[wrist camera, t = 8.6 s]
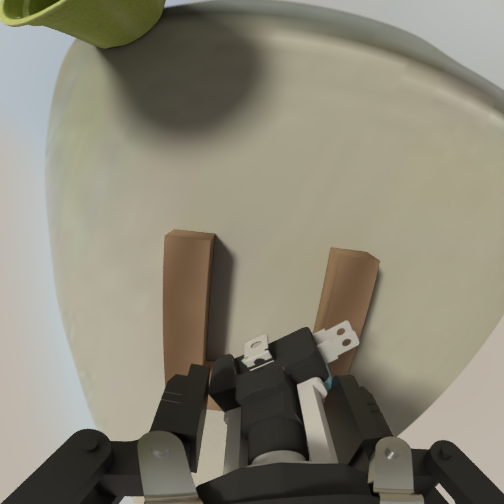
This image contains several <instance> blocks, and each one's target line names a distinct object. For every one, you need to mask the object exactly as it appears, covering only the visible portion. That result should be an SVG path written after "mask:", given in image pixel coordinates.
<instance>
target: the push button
mask: <svg viewBox="0 0 504 504" xmlns="http://www.w3.org/2000/svg"><path fill="white" fill-rule="evenodd" d="M340 328H344V329H345V332H344V334H343V335H337V331H338V329H340ZM345 339H350V340H351V343H350V344H349V345H348V346H343V345H342V342H343V341H344V340H345ZM257 342H261V344H260V345H259V346H258V347H256V348H252V346H253V345H254V344H255V343H257ZM359 343H360V342H359V340H358V337H357V335H356V333H355V331H353V330H352V328H351V325H350V323H349V321H347V320H346V321H344V322H342V323H340V324H338V325H336V326H334V327H332V328H330V329H329V330H327V331H325V329H322V330H320V331H318V332H316V333H314V334H312V332H311V331H310V329H309V328H308V327H304V328H301V329H299V330H297V331H295V332H293V333H291V334H289V335H287V336H285V337H283V338H280V339H278V340H276V341H274V342H272V343H270V344H268V336H267V335H264V334H263V335H261V336H259V337H257V338H254V339H252V340H250V341H248V342H247V343H246V344H245V354H244V355H242V356H240V357H238V358H235V359H234V357H233V356H232V355H231V354H228V355H225V356H223V357H220V358H218V359H217V360H216V361H215V362H214V364H213V369H212V374H211V379H210V384H209V393H208V394H209V395H210V397H211V398H212V399H213V400H214V401H215V402H216V404H217V405H218V406H219V407H220V408H221V409H222V410H223V411H224V413H225V414H224V422H225V423H226V424H227V425H228V426H227V437H226V448H225V459H224V470H223V475H222V476H220V477H218V478H216V479H213V480H211V481H208V482H206V483H203V484H201V485H198V486H197V487H196V491H197V494H198V496H199V498H200V499H201V500H202V502H203V504H380V499H379V498H378V497H374V496H372V495H371V492H370V488H369V485H368V482H367V479H366V476H365V473H364V472H363V471H361V470H358V469H356V468H353V467H351V466H348V465H346V464H343V463H338V459H337V455H336V452H335V448H334V444H333V440H332V437H331V433H330V429H329V426H328V422H327V418H326V415H325V411H324V408H323V404H322V400H321V399H323V398H324V397H326V395H327V391H328V390H329V389H331V383H332V377H331V374H330V371H329V369H328V366H327V364H328V363H330V362H332V361H334V360H336V359H338V355H340V354H342V353H344V352H346V351H348V350H350V349H352V348H353V347H355V346H357V345H359ZM307 441H308V446H309V452H310V457H311V461H309V453H308V447H307Z"/></svg>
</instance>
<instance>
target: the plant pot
mask: <svg viewBox="0 0 504 504" xmlns="http://www.w3.org/2000/svg"><path fill="white" fill-rule="evenodd" d="M164 4H165V0H1V2H0V20H1V21H2V23H3V24H5V25H8V26H12V27H17V26H23V25H32V26H42V25H43V26H46V27H49V28H52V29H55V30H58V31H60V32H63V33H66V34H68V35H71V36H73V37H76V38H78V39H80V40H83V41H85V42H87V43H90V44H92V45H94V46H96V47H99V48H103V49H107V48H110V47H115V46H121V45H126V44H129V43H131V42H133V41H135V40H137V39H138V38H140V37H141V36H143V35H144V34H145V33H147V32H148V31H149V30H150V29H151V28H152V27H153V26H154V25H155V24H156V23H157V21H158V20H159V19H160V17H161V15H162V12H163V8H164Z"/></svg>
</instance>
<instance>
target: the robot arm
mask: <svg viewBox="0 0 504 504" xmlns="http://www.w3.org/2000/svg"><path fill="white" fill-rule="evenodd" d="M209 377H210V366H205V365H198V364H191V365H190V369H189V372H188V375H187V376H185V375H179V374H175V375H174V376H173V377H172V378H171V379H170V380H169V381H168V382H167V384H166V387H165V390H164V393H163V395H162V398H161V401H160V404H159V407H158V409H157V412H156V415H155V418H154V421H153V424H152V426H151V429H150V431H149V432H148V433H146V434H144V435H143V436H142V437H141V438H140V439H138V440H135V441H128V442H123V441H110V440H109V438H108V437H107V436H106V435H105V434H103V433H102V432H100V431H97V430H94V429H83V430H80V431H77V432H76V433H74V434H73V435H72V436H71V437H70V438H69V439H68V440H67V441H66V442H65V443H64V444H63V445H62V446H61V447H60V448H59V449H57V450H56V452H54V453H53V454H52V455H51V456H50V457H49V458H48V459H47V460H46V461H45V462H44V463H43V464H42V465H41V466H40V467H39V468H38V469H37V470H36V471H35V472H34V473H33V474H32V475H30V476H29V477H28V478H27V479H26V480H25V481H24V482H23V483H22V484H21V485H20V486H19V487H18V488H17V489H16V490H15V491H14V492H13V493H12V494H11V495H10V496H8V497H7V498H6V499H5V500H4V501H3V502H2V503H1V504H119V503H120V501H121V500H122V499H123V497H124V496H144V498H145V502H144V504H203V502H202V500H201V499H200V498H199V496H198V494H197V491H196V488H195V485H194V482H193V478H192V475H191V472H194V473H197V467H198V460H199V454H200V448H201V441H202V435H203V429H204V423H205V417H206V411H207V404H208V393H209ZM323 408H324V411H325V415H326V418H327V422H328V426H329V429H330V433H331V437H332V440H333V444H334V448H335V452H336V455H337V459H338V463H343V464H346V465H348V466H351V467H353V468H356V469H358V470H361V471H363V472H364V473H365V476H366V479H367V482H368V485H369V488H370V492H371V495H372V496H374V497H378V498H379V499H380V504H449V503H448V502H447V501H446V500H445V499H444V497H443V496H442V495H441V494H440V493H439V492H438V490H437V489H436V488H435V487H436V486H437V485H438V483H440V484H441V486H442V487H443V488H444V489H445V490H446V491H447V492H448V494H449V495H450V496H451V497H452V498H453V499H454V501H455V503H456V504H504V494H503V493H502V492H501V491H500V490H499V489H498V488H497V487H496V486H495V484H494V483H493V482H492V481H491V480H490V479H489V478H488V477H487V476H486V475H485V474H484V473H483V472H482V471H481V470H480V469H479V468H478V467H477V466H476V465H475V464H474V463H473V462H472V461H471V460H470V459H469V458H468V457H467V456H466V455H465V454H464V453H463V452H462V451H461V450H460V449H459V448H458V447H457V446H456V445H455V444H453V443H452V442H450V441H446V440H441V441H437V442H435V443H434V444H433V445H432V446H431V448H430V449H429V450H426V449H411V448H410V446H409V445H408V444H407V443H406V442H405V441H404V440H402V439H400V438H397V437H393V435H392V433H391V431H390V429H389V427H388V425H387V423H386V421H385V419H384V417H383V415H382V413H381V412H380V409H379V407H378V405H376V401H375V399H374V397H373V395H372V394H371V393H370V392H369V391H368V390H367V389H366V388H364V387H359V386H358V384H357V381H356V379H355V377H354V376H353V375H335V376H334V377H333V379H332V383H331V389H329V390H328V393H327V395H326V398H325V401H324V404H323Z"/></svg>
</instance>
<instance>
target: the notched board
mask: <svg viewBox="0 0 504 504" xmlns="http://www.w3.org/2000/svg"><path fill="white" fill-rule="evenodd" d="M214 240H215V234H212V233H203V232H194V231H184V230H175V229H174V230H173V231H171V232H170V233H168V234H167V235H165V241H164V266H163V344H164V369H165V386H166V384H167V382H168V381H169V380H170V379H171V378H172V377H173V376H174V375H175V374H179V375H185V376H187V375H188V372H189V369H190V365H191V364H198V365H205V366H210V377H209V384H210V379H211V374H212V369H213V364H214V361H206V350H207V332H208V316H209V302H210V288H211V275H212V263H213V251H214ZM379 263H380V261H379V260H378V259H376V258H375V257H374V256H372V255H371V254H369V253H368V252H362V251H354V250H346V249H338V248H331V249H330V255H329V260H328V265H327V271H326V276H325V281H324V286H323V290H322V295H321V300H320V304H319V309H318V313H317V318H316V322H315V327H314V331H313V334H314V333H316V332H318V331H320V330H322V329H325V331H327V330H329V329H330V328H332V327H334V326H336V325H338V324H340V323H342V322H344V321H346V320H347V321H349V323H350V325H351V328H352V330H353V331H355V333H356V335H357V337H358V340H359V338H360V335H361V331H362V328H363V325H364V321H365V318H366V314H367V311H368V307H369V303H370V300H371V296H372V292H373V288H374V284H375V280H376V276H377V271H378V267H379ZM344 332H345V329H344V328H340V329H338V331H337V335H343V334H344ZM350 343H351V340H350V339H345V340H344V341H343V342H342V345H343V346H348V345H349V344H350ZM356 347H357V346H355V347H353V348H352V349H350V350H348V351H346V352H344V353H342V354H340V355H338V359H336V360H334V361H332V362H330V363H328V364H327V366H328V369H329V371H330V374H331V377H332V379H333V377H334V376H335V375H347V374H348V371H349V368H350V365H351V362H352V359H353V356H354V353H355V350H356ZM327 393H328V391H327ZM325 398H326V397H324V398H323V399H321V400H322V404H324V401H325ZM207 409H210V410H218V411H223V410H222V409H221V408H220V407H219V406H218V405H217V404H216V402H215V401H214V400H213V399H212V398H211V397H210V395H209V394H208V404H207Z"/></svg>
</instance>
